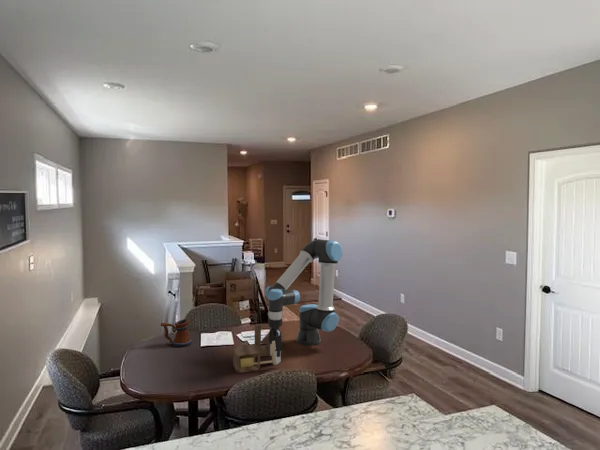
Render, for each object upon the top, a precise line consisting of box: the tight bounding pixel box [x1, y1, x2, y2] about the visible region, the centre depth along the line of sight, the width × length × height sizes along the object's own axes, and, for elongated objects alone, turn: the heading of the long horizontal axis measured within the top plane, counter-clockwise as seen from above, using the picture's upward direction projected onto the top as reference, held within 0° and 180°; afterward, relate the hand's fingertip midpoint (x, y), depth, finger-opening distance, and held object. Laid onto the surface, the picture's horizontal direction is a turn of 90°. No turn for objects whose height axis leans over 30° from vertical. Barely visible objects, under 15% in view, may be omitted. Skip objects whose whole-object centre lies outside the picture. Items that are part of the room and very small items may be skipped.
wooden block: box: [254, 323, 271, 358], centre depth 241 cm, size 4×11×18 cm, turn 111°
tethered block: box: [240, 341, 280, 368], centre depth 227 cm, size 22×6×12 cm, turn 110°
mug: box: [160, 318, 193, 348], centre depth 258 cm, size 18×12×15 cm, turn 108°
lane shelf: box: [231, 343, 261, 374], centre depth 224 cm, size 13×12×10 cm
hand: (275, 358), depth 230 cm, fingers open, 9 cm apart
